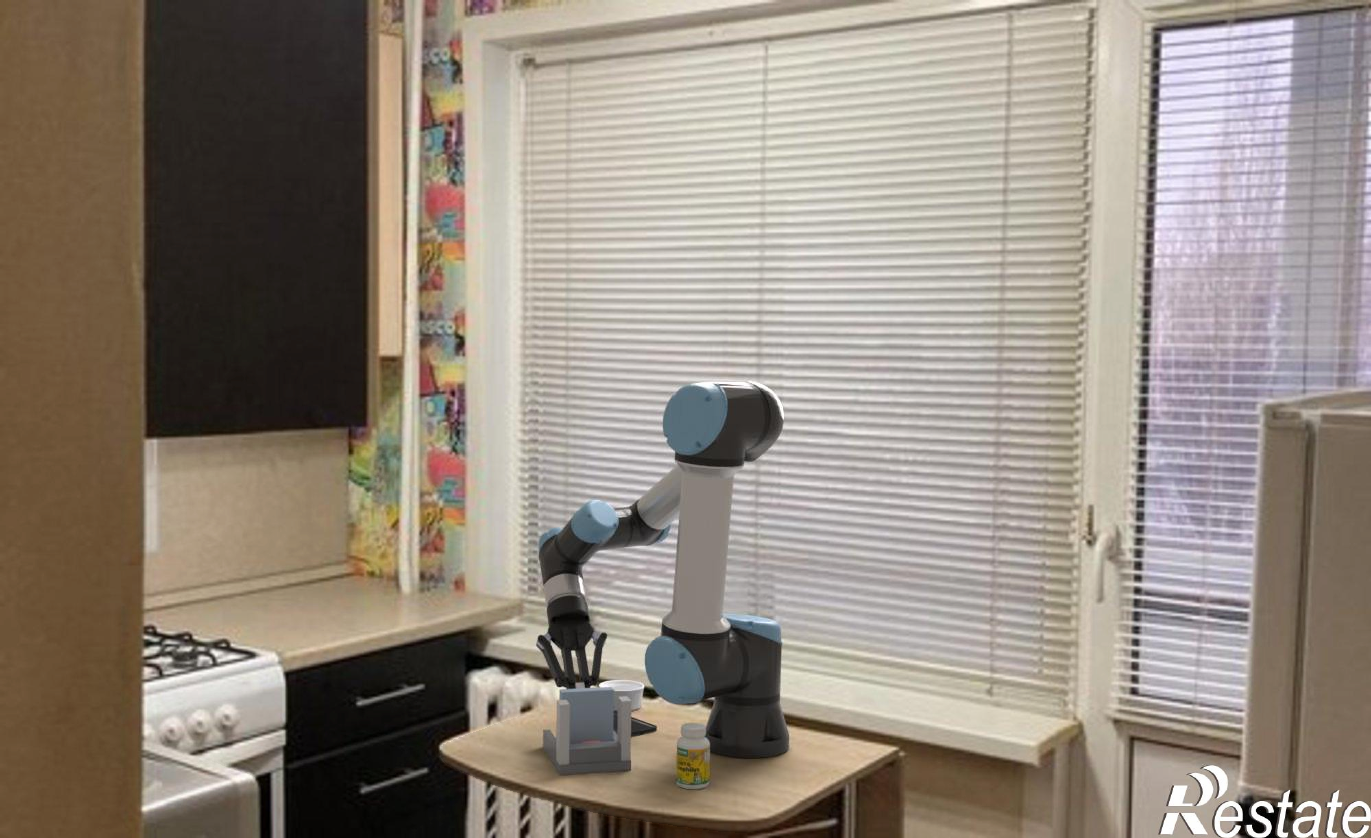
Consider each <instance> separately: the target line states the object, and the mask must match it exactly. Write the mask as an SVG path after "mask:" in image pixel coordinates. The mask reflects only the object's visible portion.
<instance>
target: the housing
mask: <svg viewBox="0 0 1371 838" xmlns="http://www.w3.org/2000/svg"><path fill="white" fill-rule="evenodd" d="M617 712H618V730H617V734H616V732H615V731H614V730H613V741H607V742H600V741H585V742H582V743H576V744H569V725H570V704H569V703H568V701H567V700H559V699H557V700H556V723H555V724H556V730H555V731H556V733H555V734H556V736H555V735H554V733H553V732H552V731H551V729H543V730H542V734H543V735H542V747H543V749H544V750H545V753H546V754H547V756H548V758H549V759H550V761H551V763H552V764H553V766H554V768H555V770H556V771H557V773H558V775H559V776H563V775H565V776H566V775H577V774H578V775H579V774H580V775H581V774H590V773H594V774H595V773H605V772H606V773H607V772H621V771H631V770H632V760H631V757H632V756H631V755H632V754H631V753H632V751H631V749H632V745H631V744H632V737H631V717H632V711H631V700H630V699H629V698H628V697H627V696H624V697H618V711H617Z"/></svg>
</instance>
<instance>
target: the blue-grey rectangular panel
mask: <svg viewBox="0 0 1371 838" xmlns="http://www.w3.org/2000/svg"><path fill="white" fill-rule="evenodd" d="M558 696H559V699H558V700H567V701H568V703H569V704H570V725H569V744H576V743H582V742H585V741H600V742H607V741H613V715H614V689H613V688H612V687H599V686H598V687H590V688H580V689H566V688H565V689H564V688H563V689H559V695H558Z"/></svg>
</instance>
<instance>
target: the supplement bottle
mask: <svg viewBox="0 0 1371 838" xmlns="http://www.w3.org/2000/svg"><path fill="white" fill-rule="evenodd" d="M705 734H706V725H705V724H702V723H698V722H688V723H684V724H681V726H680V735H681V737H679V738H678V739H677V741H676V775H675V776H676V785H677V786H678V787H680V788H682V789H686V790H702V789H705V788H707V787H708V786H709V785H710V779H711V776H710V774H711V770H710V769H711V768H710V767H711V765H710V764H711V763H710V762H711V756H710V755H711V751H710V742H709V740H708V739H707V738H706V737H704V736H705Z"/></svg>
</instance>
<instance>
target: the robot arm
mask: <svg viewBox="0 0 1371 838" xmlns="http://www.w3.org/2000/svg"><path fill="white" fill-rule="evenodd" d="M784 415H785V414H784V409H783V405H782V403H781V401H780V399H779V398H778V396H777V395H776V394H775V393H774V391H772V390H771V389H770V388H768V387H767V386H766V385H763V384H762V383H759V382H753V381H738V382H737V381H731V382H730V381H728V382H727V381H701V382H697V383H696V382H695V383H689V384H686V385H685V384H684V385H683V386H682V387H680V388H678V390H677V391H676V392H675V393H673V394H672V396H671V397H670V398H669V400H668V402H667V403H666V406H665V408H664V412H663V416H662V432H663V436H664V437H665V438H667V439H666V441H665V442H666V444H667V445H668V447H670V449H671V450H672V451H674V462H675V463H676V466H674V467H673V468H672V469H671V470H670V471H669V472H668V473H666V474H665V475H664V476H663V477H662V478H661V479H659V481H658V482H656V483H655V484H654V485H653V486H651V488H650V489H649V490H647V491H646V492H645V493H644V494H643V495H642V496H641V497H640V498H638V499H637V500H636V501H635V502H633V503H632V504H631V505H630V506H626V507H625V506H623V507H615V508H613V507H612V506H611V504H609V503H608V502H605V501H601V500H600V499H591V500H588V501H587V502H585V503H584V504H583V505H582V506H581V507H580V508H579V509H578V510H576V511H575V512H574V514H573V515H572V516H571V518H570V519H568V521H567V523H566V524H565V525H564V527H554V528H550V529H549V531H545V532H543V533H542V534H541V536H540V537H539V539H538V560H539V567H540V574H541V581H542V585H543V591H544V599H545V600H544V601H545V607H546V617H547V623H548V628H547V631H546V633H545V634H544V635H543V634H539V635H538V636H537V639H536V644H535V645H536V648H537V649H539V650H540V652H541V653H542V654H543V657H544V659H545V661H546V664H547V667H548V669H549V671H550V673H551V677H552V678H553V682H554V683H555V685H556V687H557V688H565V689H580V688H591V686H593V687H595V686H597V685H598V682H599V679H600V675H601V665H602V655H603V648H604V646H605V645H606V641H607V638H608V634H607V632H601V633H600V632H598V631H596V630H595V627H594V626H593V625H592V623H591V620H590V618H591V617H590V613H589V606H588V605H589V604H588V602H587V593H586V588H585V581H584V575H583V567H584V566H585V565H586V564H588V562H589V561H590V560H591V559H592V558H593V556H595V554H596V553H597V552H600V551H607V550H616V549H623V548H631V547H640V546H644V547H645V546H646V547H647V546H653V545H654V544H658V543H662V542H663V541H664V540H666V539H667V538H668V536H669V533H670V531H671V529H672V528H671V527H672V526H671V525H672V523H674V522H675V521H676V520H677V519H678V528H677V539H676V552H675V565H674V566H675V567H674V578H673V579H674V580H673V592H672V602H671V603H672V604H671V606H672V607H671V611H669V612H668V613H667V614H665V615H664V616H663V617H662V620H661V628H660V629H661V631H660V636H657V637H655V638H654V639H653V640H651V642H650V643H649V644H648V646H647V647H646V649H645V653H644V667H645V673H646V677H647V680H648V681H649V683H650V685H652V687H653V690H654V691H655V693H656V694H657V695H659V697H660V698H661V699H663V700H664V701H666V702H668V703H669V704H673V705H685V704H697V703H699V702H701V701H704V700H709V699H712V698H714V701H713V705H712V708H711V711H710V713H709V717H708V720H707V722H706V725H705V726H706V734H705V736H704V737H706V738H707V739H708V740H709V742H710V752H712V753H714V754H717V755H722V756H727V757H733V758H745V759H747V758H749V759H753V758H755V759H757V758H768V757H773V756H778V755H781V754H783V753H785V752H787V751H788V750H789V748H790V732H789V729H788V726H787V723H786V720H785V719H786V718H785V716H784V713H783V709H782V706H781V680H782V654H783V653H782V650H783V649H782V648H783V642H782V627H781V626H780V624H779V623H778V622H777V621H776V620H774V619H771V618H768V617H762V616H757V615H749V614H738V613H724V601H725V600H724V599H725V589H726V574H727V563H728V562H727V561H728V551H729V540H730V525H731V516H732V505H733V503H732V502H733V491H734V490H733V489H734V480H735V478H734V477H735V475H736V474H737V473H738V472H739V471H740V470H742V468H744V466H745V464H746V463H747V464H750V463H753V462H755V461H756V460H757V459H759V458H760V457H762V455H764V454H765V453H766V452H767V451H768V450H769V449H770V448H772V447H773V446H774V444H775V443H776V441H777V440H778V439H779V437H781V436H780V435H781V434H782V431H783V427H784V422H785V421H784V420H785V416H784ZM591 640H592V643H593V646H595V647H594V651H593V659H592V668H591V674H590V672H589V664H588V658H587V653H586V646H587V645H588V644H589V642H590V641H591ZM552 643H553V644H554V645H555V646H556V647H557V648H558V649H559V650H560V654H561V658H562V665H563V670H562V667H561V665H560V662H559V660H558V658H557V655H556V653H555V650H554V648H553V644H552ZM572 651H573V652H575V658H576V661H577V669H578V676H579V682H576V675H575V667H574V662H573V654H572V653H573V652H572ZM563 671H564V672H563Z"/></svg>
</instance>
